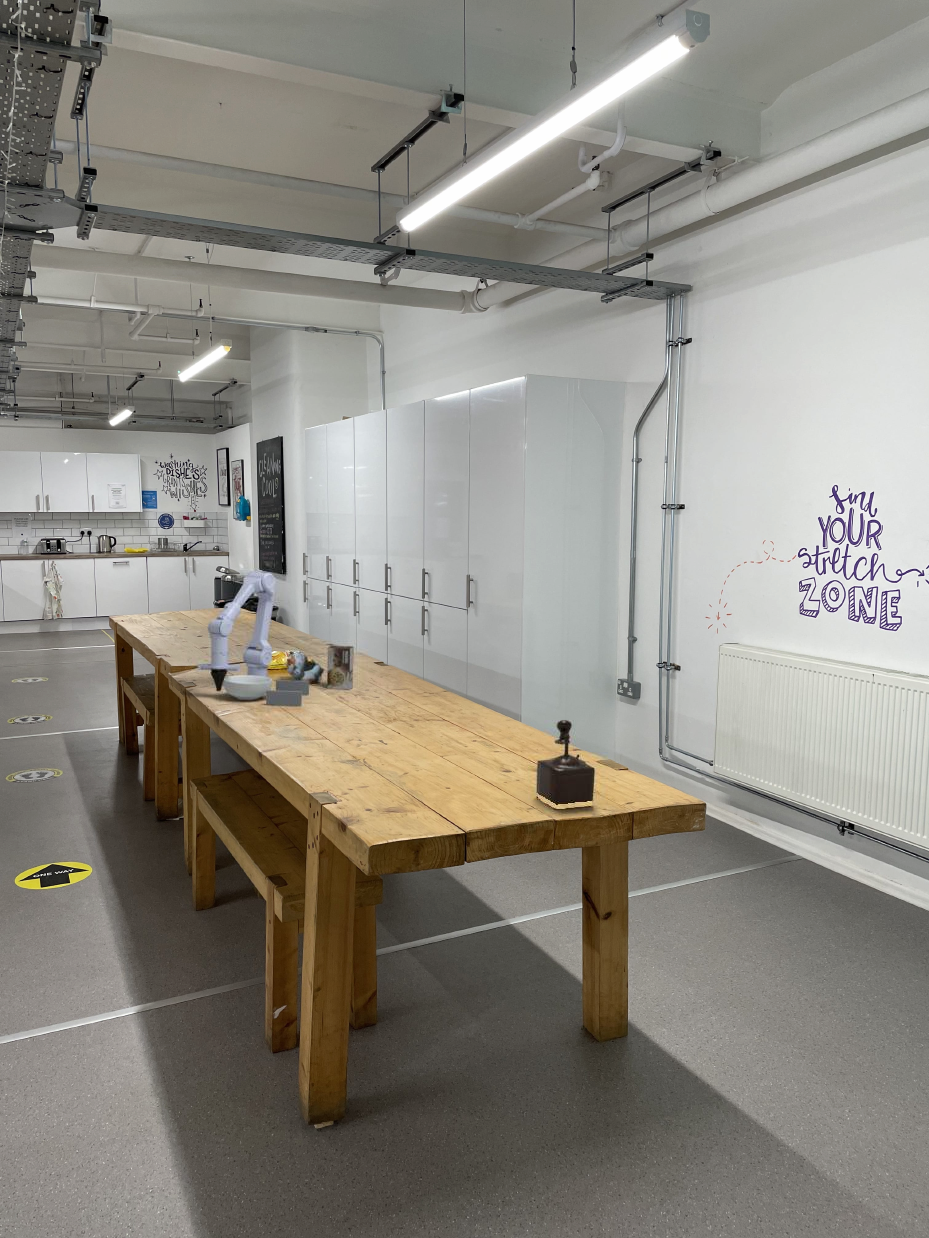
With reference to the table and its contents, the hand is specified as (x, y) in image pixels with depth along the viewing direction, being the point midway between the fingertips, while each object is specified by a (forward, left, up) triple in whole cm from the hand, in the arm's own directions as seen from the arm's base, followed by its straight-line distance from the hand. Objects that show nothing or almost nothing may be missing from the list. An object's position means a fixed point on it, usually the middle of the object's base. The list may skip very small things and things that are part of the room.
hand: (218, 690), depth 314 cm
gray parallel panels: (0, +25, -2) cm, 25 cm away
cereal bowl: (0, +10, -3) cm, 11 cm away
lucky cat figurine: (-37, +26, -3) cm, 45 cm away
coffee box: (-26, +41, -3) cm, 48 cm away
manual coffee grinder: (+107, +106, -3) cm, 150 cm away
